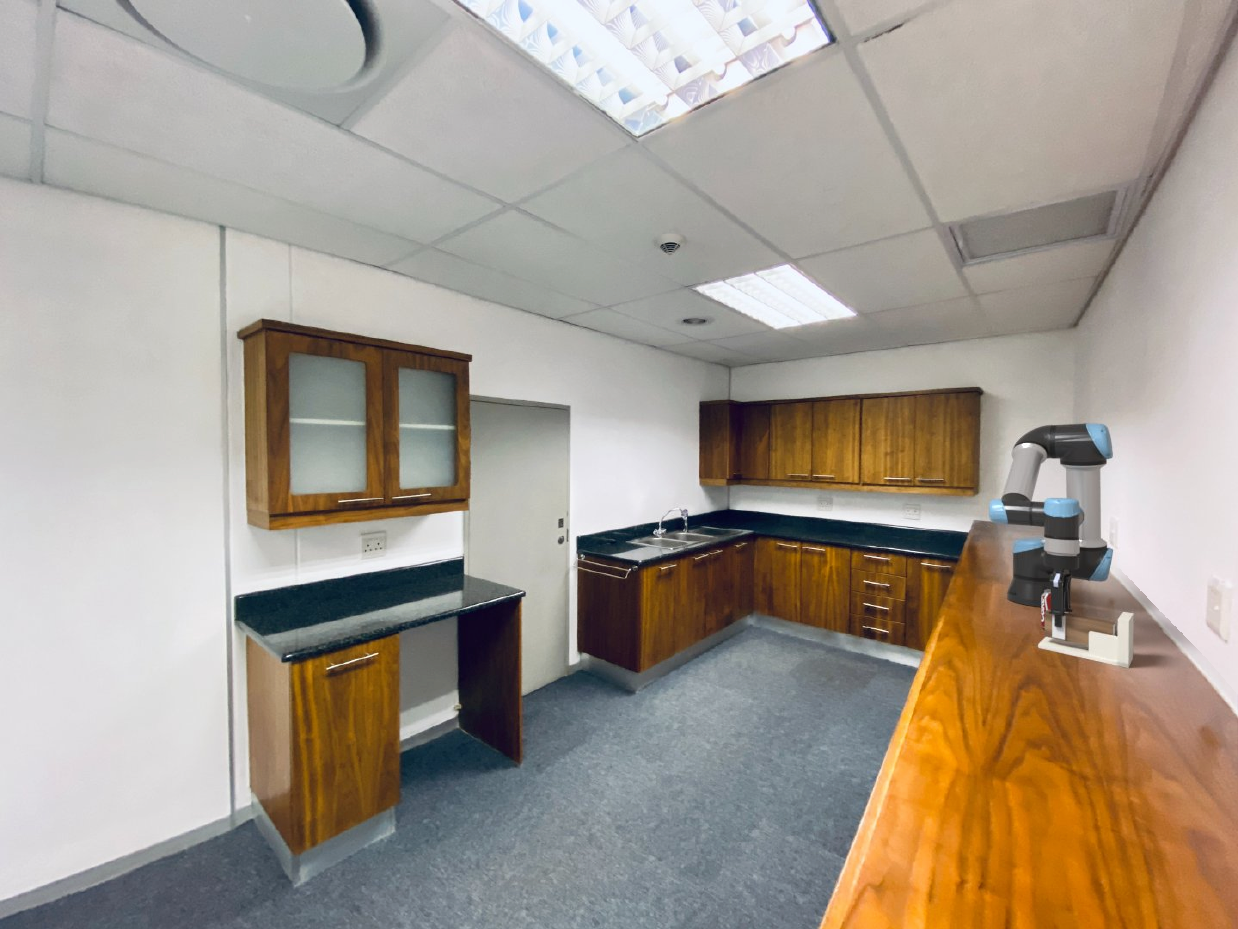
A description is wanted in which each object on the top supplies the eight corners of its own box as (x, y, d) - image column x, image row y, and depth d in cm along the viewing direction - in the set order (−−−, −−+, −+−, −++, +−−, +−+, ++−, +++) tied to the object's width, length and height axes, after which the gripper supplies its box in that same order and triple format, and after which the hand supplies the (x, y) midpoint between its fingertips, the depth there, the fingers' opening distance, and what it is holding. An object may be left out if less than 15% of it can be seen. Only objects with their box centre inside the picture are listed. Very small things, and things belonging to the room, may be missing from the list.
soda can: (1076, 634, 153) (1076, 594, 153) (1053, 634, 153) (1053, 594, 153) (1057, 626, 160) (1057, 588, 159) (1035, 626, 160) (1035, 588, 159)
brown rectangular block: (1047, 633, 146) (1047, 609, 146) (1116, 648, 135) (1116, 621, 135) (1044, 636, 144) (1044, 611, 144) (1114, 651, 133) (1114, 624, 133)
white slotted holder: (1046, 639, 149) (1046, 599, 149) (1133, 658, 135) (1133, 613, 135) (1038, 647, 143) (1038, 605, 143) (1128, 668, 129) (1128, 621, 129)
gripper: (1050, 547, 150) (1050, 626, 151) (1036, 555, 140) (1036, 639, 140) (1084, 551, 145) (1084, 633, 145) (1072, 559, 134) (1071, 647, 134)
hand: (1060, 636), depth 143 cm, fingers closed on brown rectangular block, 3 cm apart
